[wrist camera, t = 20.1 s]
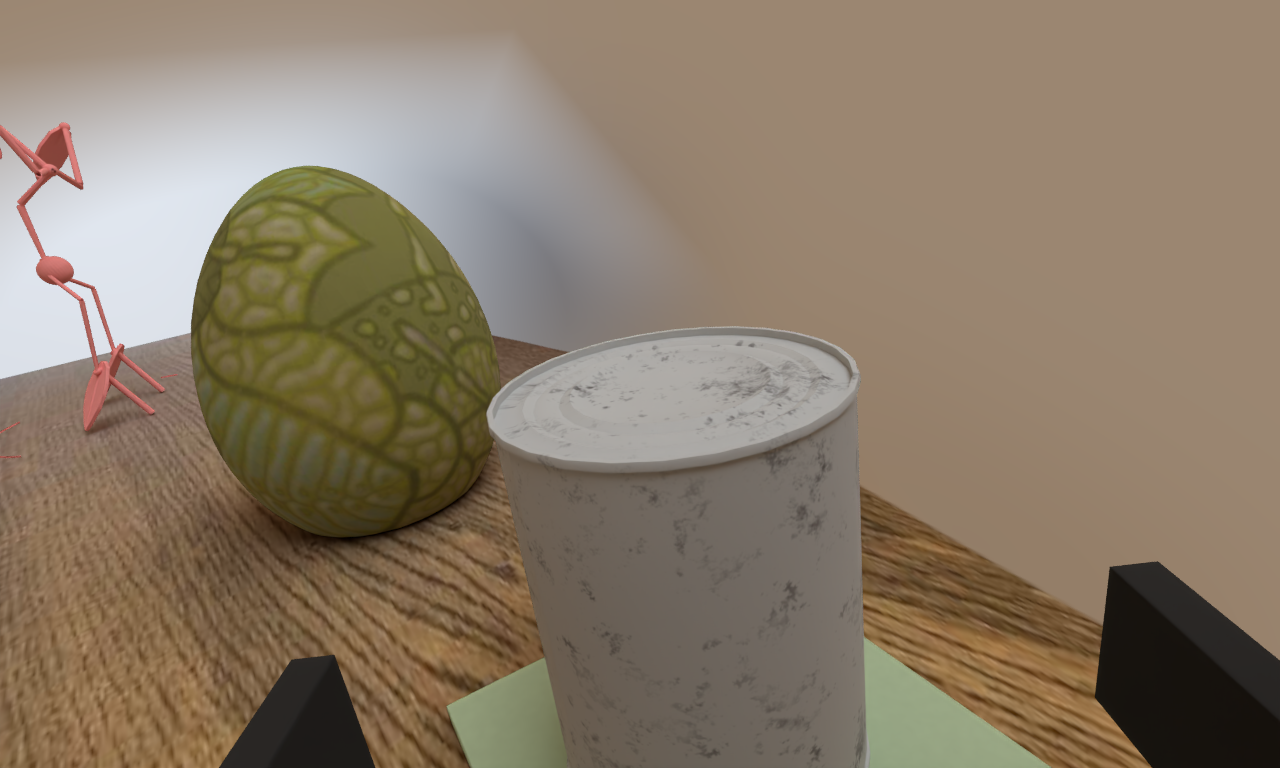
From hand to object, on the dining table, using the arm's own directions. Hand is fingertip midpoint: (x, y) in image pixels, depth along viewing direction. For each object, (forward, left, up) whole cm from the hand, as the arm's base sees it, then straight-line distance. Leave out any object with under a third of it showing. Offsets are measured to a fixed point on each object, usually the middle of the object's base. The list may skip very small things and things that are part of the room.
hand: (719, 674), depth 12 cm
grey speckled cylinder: (-4, -7, -10) cm, 12 cm away
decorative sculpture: (+1, -34, -10) cm, 36 cm away
